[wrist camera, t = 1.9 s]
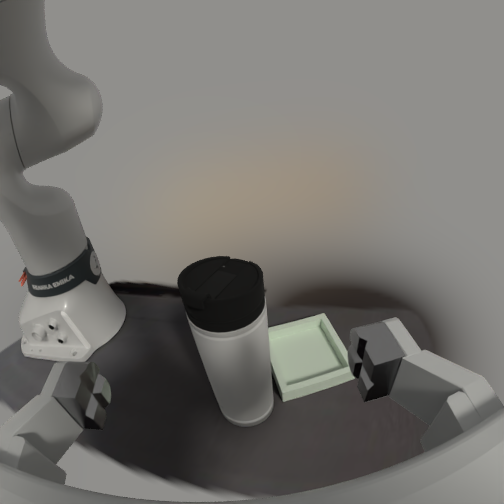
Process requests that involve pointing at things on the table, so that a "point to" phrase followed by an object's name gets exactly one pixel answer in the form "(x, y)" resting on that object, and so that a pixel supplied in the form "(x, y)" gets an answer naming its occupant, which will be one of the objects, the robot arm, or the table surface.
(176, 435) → the table surface
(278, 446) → the table surface
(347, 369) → the tray
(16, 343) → the table surface
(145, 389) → the table surface
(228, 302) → the travel mug
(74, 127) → the robot arm
